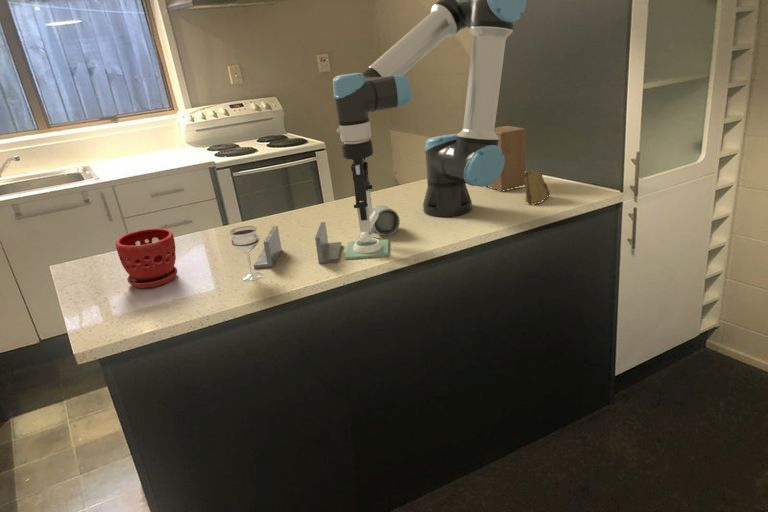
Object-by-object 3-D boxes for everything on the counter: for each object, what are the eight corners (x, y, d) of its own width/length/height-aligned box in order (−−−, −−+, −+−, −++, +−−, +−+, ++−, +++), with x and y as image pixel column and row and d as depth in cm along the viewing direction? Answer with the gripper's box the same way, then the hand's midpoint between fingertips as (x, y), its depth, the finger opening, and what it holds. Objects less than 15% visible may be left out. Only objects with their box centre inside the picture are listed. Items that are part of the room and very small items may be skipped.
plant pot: (127, 297, 126) (113, 249, 122) (128, 277, 137) (115, 234, 133) (185, 283, 131) (173, 237, 126) (181, 266, 142) (170, 223, 138)
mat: (388, 241, 146) (388, 239, 146) (388, 256, 136) (388, 254, 135) (348, 244, 146) (348, 242, 146) (345, 259, 136) (344, 257, 136)
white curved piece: (399, 231, 135) (375, 220, 132) (374, 266, 140) (351, 256, 137) (395, 216, 141) (372, 206, 138) (372, 250, 146) (349, 241, 143)
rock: (543, 186, 175) (515, 186, 172) (555, 168, 168) (526, 168, 165) (554, 212, 169) (525, 213, 167) (566, 195, 162) (537, 196, 159)
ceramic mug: (392, 225, 158) (390, 200, 155) (401, 233, 151) (398, 207, 148) (358, 232, 156) (354, 206, 153) (365, 240, 148) (361, 214, 146)
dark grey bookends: (341, 245, 146) (338, 221, 143) (337, 262, 135) (334, 236, 132) (264, 251, 147) (260, 227, 144) (254, 268, 136) (249, 242, 133)
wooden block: (501, 192, 180) (501, 132, 173) (484, 186, 189) (483, 129, 181) (525, 187, 184) (526, 128, 176) (507, 181, 192) (507, 125, 185)
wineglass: (242, 271, 134) (233, 226, 130) (268, 270, 134) (260, 224, 130) (234, 283, 128) (224, 236, 124) (262, 281, 128) (253, 234, 123)
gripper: (344, 133, 142) (355, 209, 150) (336, 153, 119) (349, 241, 127) (372, 130, 142) (382, 206, 150) (369, 149, 119) (380, 238, 127)
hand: (367, 222), depth 139 cm, fingers open, 13 cm apart
